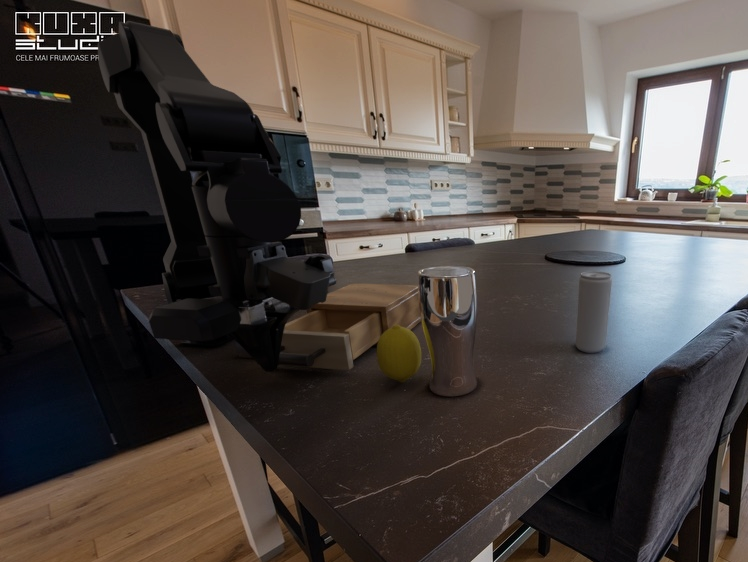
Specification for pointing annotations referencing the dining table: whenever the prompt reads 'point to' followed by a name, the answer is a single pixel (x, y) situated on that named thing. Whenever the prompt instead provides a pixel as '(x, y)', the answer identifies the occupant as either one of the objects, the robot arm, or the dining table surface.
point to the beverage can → (593, 311)
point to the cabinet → (377, 302)
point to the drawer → (329, 338)
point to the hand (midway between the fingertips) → (271, 370)
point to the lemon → (399, 353)
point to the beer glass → (449, 327)
